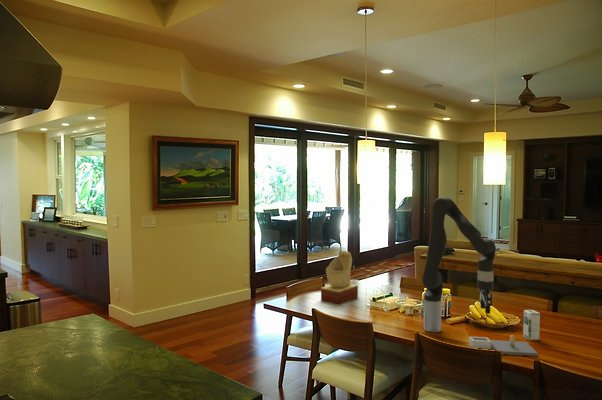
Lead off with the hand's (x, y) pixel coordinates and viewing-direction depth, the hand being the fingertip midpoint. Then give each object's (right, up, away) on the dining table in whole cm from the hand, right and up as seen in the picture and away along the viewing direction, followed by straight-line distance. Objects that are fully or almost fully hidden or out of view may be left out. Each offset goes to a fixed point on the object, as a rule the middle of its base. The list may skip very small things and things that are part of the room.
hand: (485, 310), depth 218 cm
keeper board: (+11, -18, -5) cm, 22 cm away
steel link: (-4, -18, -2) cm, 18 cm away
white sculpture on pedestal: (-65, -16, +92) cm, 114 cm away
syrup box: (+29, -17, +10) cm, 35 cm away
